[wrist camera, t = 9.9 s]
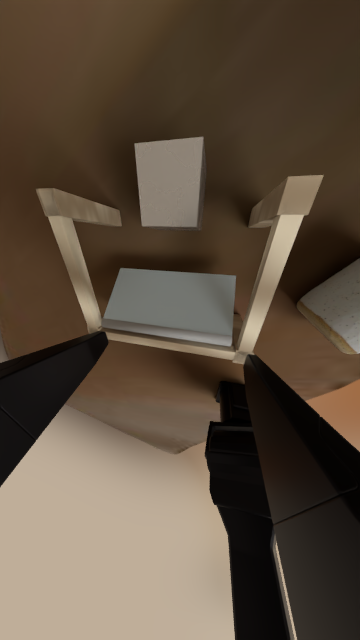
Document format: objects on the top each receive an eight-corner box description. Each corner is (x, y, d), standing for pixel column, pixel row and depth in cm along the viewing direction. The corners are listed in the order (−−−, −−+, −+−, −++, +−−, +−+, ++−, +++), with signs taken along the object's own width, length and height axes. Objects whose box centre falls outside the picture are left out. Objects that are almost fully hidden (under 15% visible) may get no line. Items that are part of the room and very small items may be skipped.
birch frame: (237, 324, 20) (249, 365, 14) (126, 310, 24) (91, 338, 17) (269, 208, 14) (323, 175, 7) (107, 210, 17) (35, 188, 10)
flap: (228, 347, 14) (231, 345, 13) (106, 328, 16) (99, 325, 15) (233, 281, 16) (236, 275, 15) (124, 273, 18) (120, 267, 17)
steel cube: (203, 136, 9) (206, 170, 13) (134, 143, 10) (158, 172, 14) (196, 226, 12) (201, 230, 16) (142, 226, 13) (160, 230, 17)
